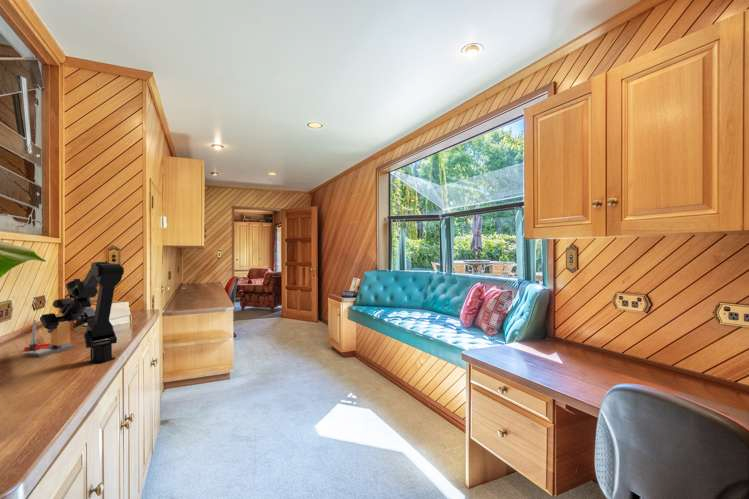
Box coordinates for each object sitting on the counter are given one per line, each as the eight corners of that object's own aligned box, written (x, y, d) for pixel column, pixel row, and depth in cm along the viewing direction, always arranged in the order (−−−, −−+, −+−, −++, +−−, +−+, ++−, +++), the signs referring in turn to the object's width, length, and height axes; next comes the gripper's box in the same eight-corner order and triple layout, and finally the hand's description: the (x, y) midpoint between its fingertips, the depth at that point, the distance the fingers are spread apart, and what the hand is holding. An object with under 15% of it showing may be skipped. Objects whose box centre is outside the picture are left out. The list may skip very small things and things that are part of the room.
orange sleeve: (69, 343, 154) (69, 321, 154) (57, 345, 150) (57, 323, 150) (63, 342, 156) (63, 321, 156) (50, 344, 152) (50, 323, 152)
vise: (74, 347, 155) (74, 336, 155) (38, 357, 141) (38, 344, 141) (61, 346, 157) (61, 335, 157) (24, 356, 143) (24, 343, 143)
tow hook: (41, 345, 160) (21, 350, 151) (42, 317, 161) (22, 320, 151) (60, 345, 160) (41, 350, 151) (61, 317, 161) (42, 320, 152)
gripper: (93, 290, 160) (77, 312, 163) (42, 295, 142) (26, 320, 146) (104, 308, 157) (88, 330, 161) (54, 315, 139) (37, 340, 143)
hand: (61, 330), depth 153 cm, fingers open, 9 cm apart
